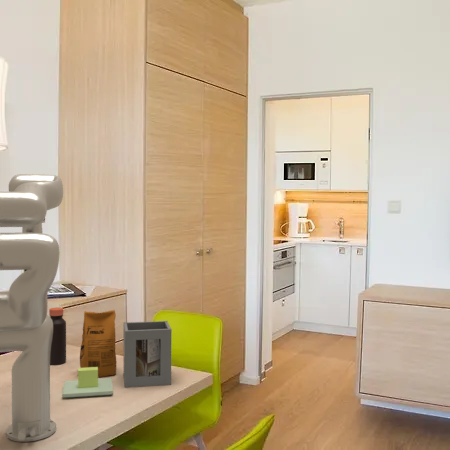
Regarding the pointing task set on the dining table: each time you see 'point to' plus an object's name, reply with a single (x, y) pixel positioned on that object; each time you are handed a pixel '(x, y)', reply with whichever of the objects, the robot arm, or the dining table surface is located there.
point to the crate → (132, 334)
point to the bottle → (58, 337)
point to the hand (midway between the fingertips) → (32, 275)
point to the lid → (87, 384)
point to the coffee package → (99, 342)
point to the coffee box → (147, 357)
